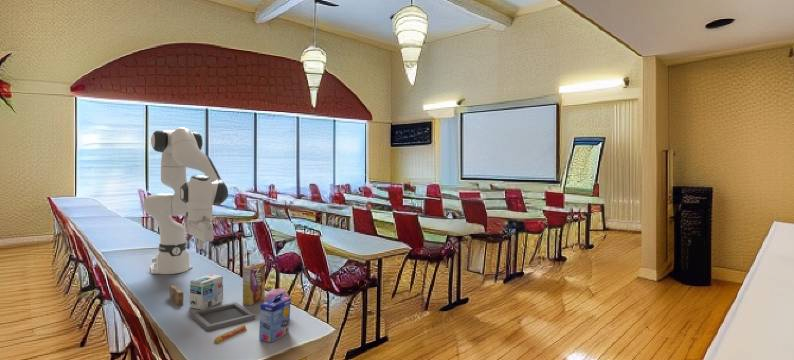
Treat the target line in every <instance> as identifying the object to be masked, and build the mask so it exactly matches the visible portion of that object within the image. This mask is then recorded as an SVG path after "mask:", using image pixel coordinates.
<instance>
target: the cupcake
mask: <svg viewBox="0 0 794 360" xmlns="http://www.w3.org/2000/svg"><path fill="white" fill-rule="evenodd" d="M281 293H283V295H282V296H284V297H288V298H290V296H289V293H288V292H287V291H286V289H283V288H274V289H271V290H269V291H267V293H265V299H263V301H264V302H265V301H267V300H270V299H272V298H274V297H276V296H277V295H279V294H281Z"/></svg>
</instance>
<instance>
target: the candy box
mask: <svg viewBox="0 0 794 360" xmlns="http://www.w3.org/2000/svg"><path fill="white" fill-rule="evenodd" d="M265 264H266V263H265V262H255V263H251V264H248V265H246V266H243V267H242V304H243V305H247V306H252V305H254V304H257V303H259V302H261V301H264V299H265V296H266V274H265V273H266V271H265V270H266V268H265V267H266V265H265Z"/></svg>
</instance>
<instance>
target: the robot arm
mask: <svg viewBox="0 0 794 360" xmlns="http://www.w3.org/2000/svg"><path fill="white" fill-rule="evenodd" d="M150 144H151V147H152V149H153V151H155V152H156V153H157V152H158V153H162V154H161V160H160V181H161V183H162V184H163V185H165V186H166V187H168V188H170V189H172V190H173V191H174V193H156V194H151V195H149V194H148V196H147V197H145V199H144V201H143V204H142V205H143V211H144V212H145V213H146V214H147V215H149V216H150V217H151V218H153V219H154V220H155V222H156V224H157V225H158V228H159V238H160V239H159V242H160V243H159V245H158V252H157V254H155V256H154V257H152V258H151V263H152V264H150V266H149V268H150V274H151V275H157V274H159V275H174V274H181V273H184V272H187V271H189V270H190V269H193V265H191V264H190V253H189V251H187V242H186V231H187V234H189V235H190V236H193V237H194V238H195V243H196V248H197V249H199V250H203V249H204V245H205V243H207V242H208V243H210V242H213V241H214V239H215V238H214V237H215V235H214V225H213V222H212V219H213V205H221V204H223V203H224V202H225V201H226V200H227V198H228V197H229V196H228V195H229V190H228V186H227V185H226V184H225V182H224V181H223V180H222V177H221V175H220V174H219V172H218V170H217V168H216V166H215V164H214V163H213V161H212V159H211V157H210V156H208V155H207V154H205V153H204V152H203V151H202V147H203V145H204V141H203V137H202V135H201V134H200V132H196V131H192V130H190V129H189V128H187V127H186V128H185V127H178V128H176V129H174V130H170V129H169V130H168V129H167V130H163V129H159V130H155V131H154V132H152V135H151V137H150ZM187 169H193V170H196V171H199V172H202V173H203V174H194V175H192V176H191V177H189V178H190V179H189V181H187ZM173 216H174V217H176V216H180V217H181V216H185V217H186V227H185V226H184V225H183V224H182V223H179V222H177V221H175V220H174V219H173Z"/></svg>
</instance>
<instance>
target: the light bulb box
mask: <svg viewBox="0 0 794 360" xmlns="http://www.w3.org/2000/svg"><path fill="white" fill-rule="evenodd" d="M223 279H224V277H223V275H217V274H212V273H209V274H206V275H203V276H201V277H198V278H194V279H191V280H189V281H190V285H189V286H190V288H189V289H190V292H189V308H193V309H197V310H203V309H207V308H212V307H214V306H215V305H217V304H220V303H223V297H222V285H223V286H224V283H223V282H224V281H223Z"/></svg>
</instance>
